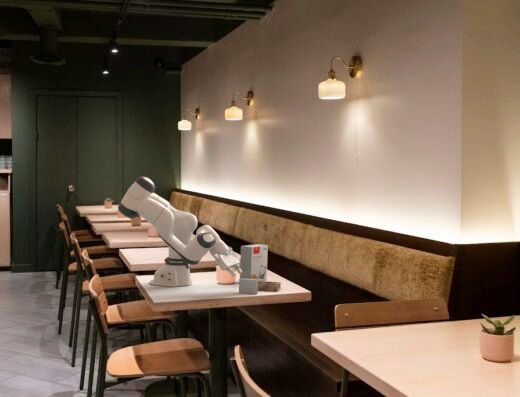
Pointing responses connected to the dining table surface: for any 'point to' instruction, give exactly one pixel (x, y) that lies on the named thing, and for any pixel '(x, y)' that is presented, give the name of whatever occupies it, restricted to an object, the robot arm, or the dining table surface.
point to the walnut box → (269, 286)
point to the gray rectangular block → (248, 285)
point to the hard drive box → (254, 262)
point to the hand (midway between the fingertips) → (237, 273)
